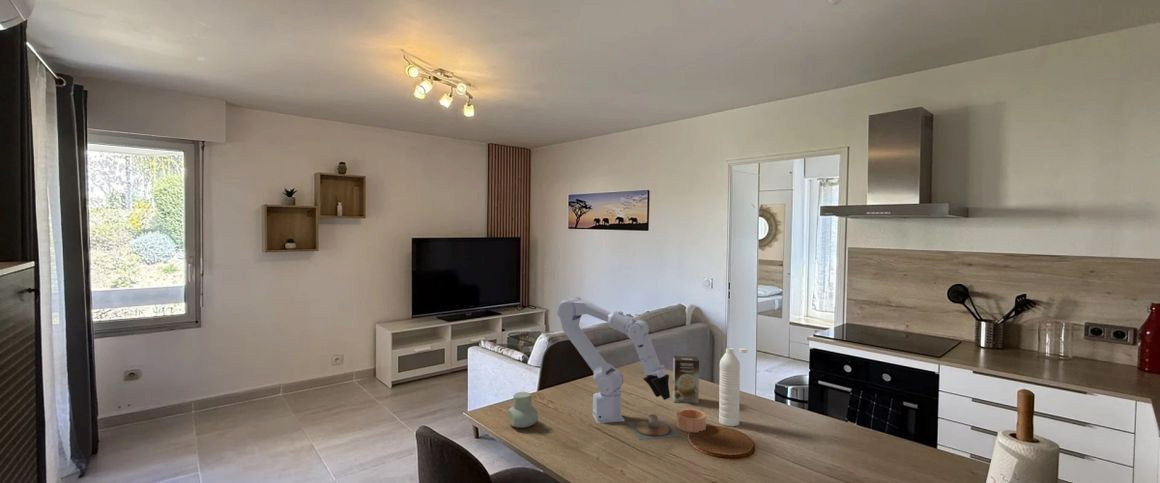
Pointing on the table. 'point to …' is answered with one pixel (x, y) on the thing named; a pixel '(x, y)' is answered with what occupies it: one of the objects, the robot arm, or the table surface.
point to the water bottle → (729, 388)
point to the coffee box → (685, 379)
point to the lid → (653, 427)
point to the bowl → (691, 420)
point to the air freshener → (522, 411)
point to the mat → (641, 436)
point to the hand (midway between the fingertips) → (663, 397)
